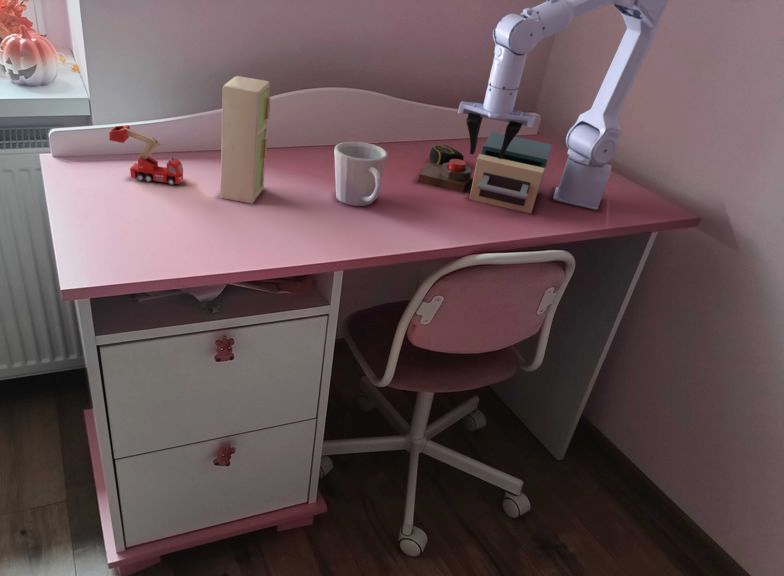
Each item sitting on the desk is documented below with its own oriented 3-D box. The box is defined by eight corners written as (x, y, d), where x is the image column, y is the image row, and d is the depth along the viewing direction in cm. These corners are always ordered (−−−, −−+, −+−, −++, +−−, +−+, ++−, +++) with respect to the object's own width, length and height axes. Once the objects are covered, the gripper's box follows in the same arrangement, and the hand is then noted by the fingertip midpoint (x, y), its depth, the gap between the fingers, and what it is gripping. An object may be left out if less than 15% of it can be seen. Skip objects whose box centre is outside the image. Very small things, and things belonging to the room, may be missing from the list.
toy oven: (531, 210, 140) (547, 159, 133) (470, 196, 143) (483, 145, 136) (537, 193, 148) (552, 144, 142) (479, 180, 151) (491, 131, 145)
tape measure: (462, 168, 156) (466, 153, 154) (439, 171, 153) (442, 155, 151) (445, 158, 161) (448, 143, 159) (422, 160, 158) (425, 144, 156)
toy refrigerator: (256, 205, 128) (262, 91, 116) (219, 198, 129) (221, 85, 117) (267, 190, 134) (273, 81, 122) (232, 183, 135) (235, 75, 123)
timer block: (471, 180, 151) (474, 164, 149) (463, 193, 144) (467, 177, 142) (427, 170, 153) (430, 155, 151) (417, 182, 146) (420, 167, 144)
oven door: (527, 225, 136) (539, 184, 128) (464, 210, 139) (472, 169, 131) (532, 209, 139) (544, 167, 130) (471, 195, 142) (479, 153, 134)
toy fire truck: (180, 186, 131) (179, 138, 126) (112, 177, 132) (108, 128, 126) (185, 180, 134) (184, 132, 129) (118, 171, 134) (114, 123, 129)
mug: (367, 187, 141) (374, 140, 135) (398, 217, 130) (407, 167, 124) (321, 189, 137) (326, 141, 132) (349, 221, 126) (356, 170, 121)
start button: (465, 168, 147) (467, 161, 146) (462, 174, 145) (464, 166, 144) (449, 165, 148) (451, 157, 147) (446, 170, 145) (448, 162, 144)
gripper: (461, 83, 125) (446, 154, 133) (539, 98, 121) (519, 170, 129) (468, 75, 130) (454, 144, 138) (543, 89, 127) (524, 159, 135)
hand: (486, 155), depth 134 cm, fingers open, 5 cm apart
